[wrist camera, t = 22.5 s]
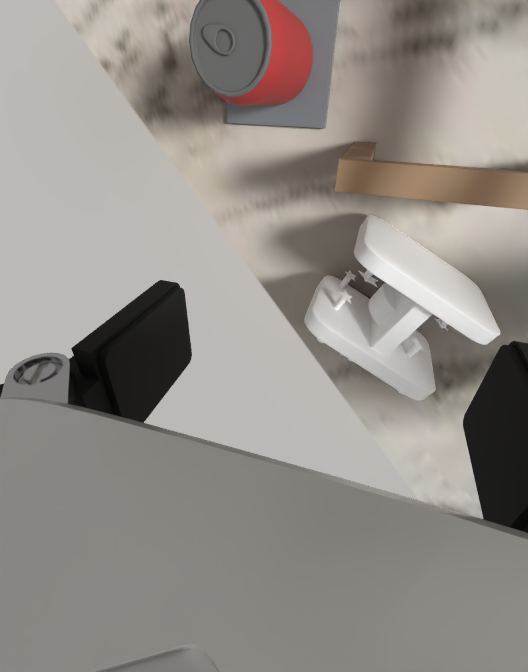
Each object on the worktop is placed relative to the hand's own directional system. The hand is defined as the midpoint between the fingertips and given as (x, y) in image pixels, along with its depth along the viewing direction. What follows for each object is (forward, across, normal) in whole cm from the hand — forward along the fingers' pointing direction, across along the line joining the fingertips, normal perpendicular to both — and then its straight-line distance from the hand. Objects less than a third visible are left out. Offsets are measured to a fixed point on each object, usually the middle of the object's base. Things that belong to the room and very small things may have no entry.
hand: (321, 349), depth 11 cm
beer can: (+30, +10, -9) cm, 33 cm away
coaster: (+30, +10, -9) cm, 33 cm away
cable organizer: (+31, -5, +11) cm, 33 cm away
